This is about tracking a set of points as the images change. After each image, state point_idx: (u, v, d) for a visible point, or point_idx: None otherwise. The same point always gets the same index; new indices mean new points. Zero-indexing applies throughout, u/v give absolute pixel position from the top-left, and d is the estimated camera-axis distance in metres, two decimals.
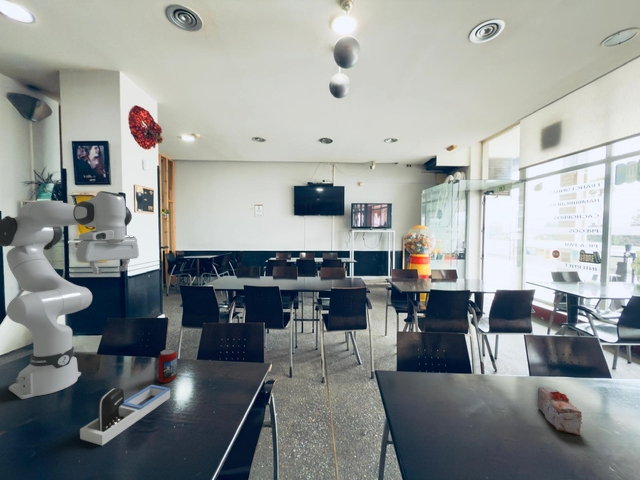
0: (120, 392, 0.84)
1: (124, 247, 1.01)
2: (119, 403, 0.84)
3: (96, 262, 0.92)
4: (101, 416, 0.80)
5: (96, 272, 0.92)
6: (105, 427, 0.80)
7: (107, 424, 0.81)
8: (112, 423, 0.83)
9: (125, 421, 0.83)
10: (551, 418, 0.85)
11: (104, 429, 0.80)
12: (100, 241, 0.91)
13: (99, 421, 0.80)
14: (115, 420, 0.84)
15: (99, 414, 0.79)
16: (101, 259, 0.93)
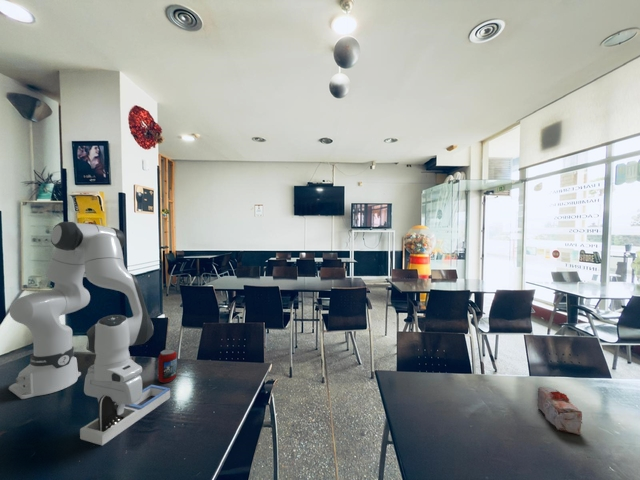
0: None
1: None
2: None
3: None
4: (101, 416, 0.80)
5: (122, 411, 0.83)
6: (105, 427, 0.80)
7: (107, 424, 0.81)
8: (112, 423, 0.83)
9: (125, 421, 0.83)
10: (551, 418, 0.85)
11: (104, 429, 0.80)
12: None
13: (99, 421, 0.80)
14: (115, 420, 0.84)
15: (99, 414, 0.79)
16: None
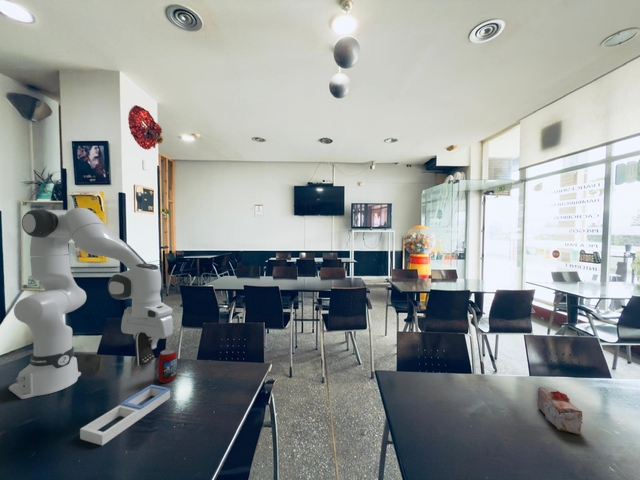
0: None
1: None
2: None
3: None
4: (138, 349, 0.91)
5: (155, 346, 0.94)
6: (142, 359, 0.92)
7: (143, 357, 0.93)
8: (147, 357, 0.94)
9: (125, 421, 0.83)
10: (552, 418, 0.85)
11: (141, 360, 0.91)
12: None
13: (136, 353, 0.91)
14: (149, 356, 0.96)
15: (136, 347, 0.91)
16: None
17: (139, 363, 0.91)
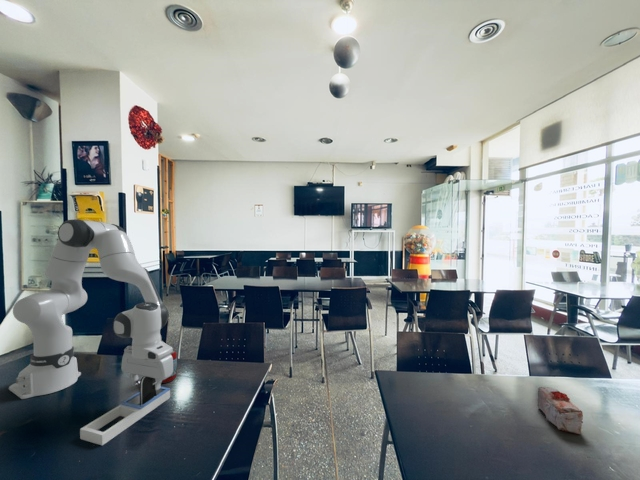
0: None
1: None
2: None
3: None
4: (142, 394, 0.91)
5: (159, 386, 0.94)
6: None
7: (147, 401, 0.93)
8: None
9: (125, 421, 0.83)
10: (552, 418, 0.85)
11: None
12: None
13: (140, 398, 0.91)
14: None
15: (140, 392, 0.91)
16: None
17: None
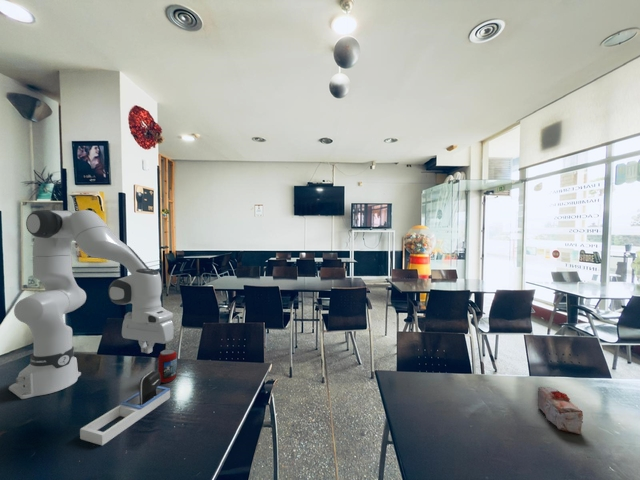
0: (157, 374, 0.96)
1: None
2: (156, 384, 0.95)
3: None
4: (142, 394, 0.91)
5: (151, 350, 0.95)
6: None
7: (146, 401, 0.92)
8: None
9: (125, 421, 0.83)
10: (552, 418, 0.85)
11: None
12: None
13: (140, 398, 0.91)
14: None
15: (140, 392, 0.91)
16: None
17: None
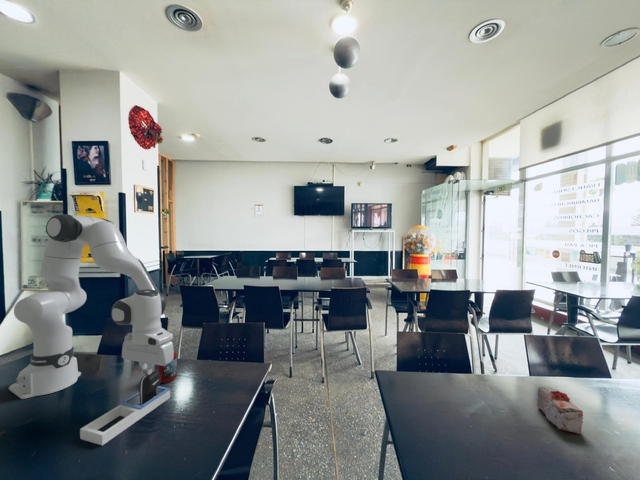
0: (157, 374, 0.96)
1: None
2: (156, 384, 0.95)
3: None
4: (142, 394, 0.91)
5: (151, 371, 0.95)
6: None
7: (146, 401, 0.92)
8: None
9: (125, 421, 0.83)
10: (553, 418, 0.85)
11: None
12: None
13: (140, 398, 0.91)
14: None
15: (140, 392, 0.91)
16: None
17: None
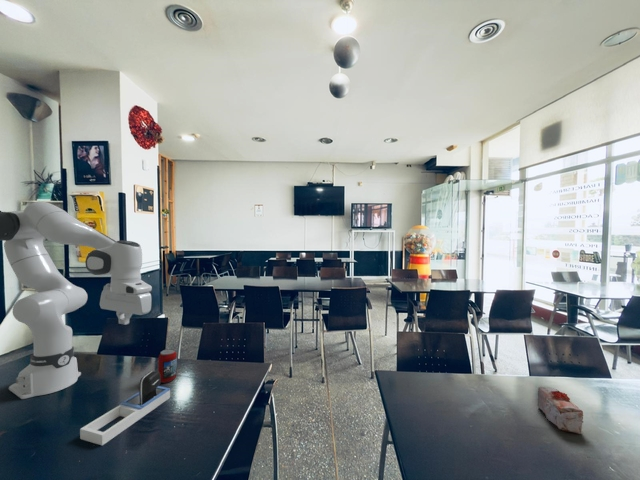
0: (157, 374, 0.96)
1: None
2: (156, 384, 0.95)
3: None
4: (142, 394, 0.91)
5: (128, 321, 0.95)
6: None
7: (146, 401, 0.92)
8: None
9: (125, 421, 0.83)
10: (553, 418, 0.85)
11: None
12: None
13: (140, 398, 0.91)
14: None
15: (140, 392, 0.91)
16: None
17: None
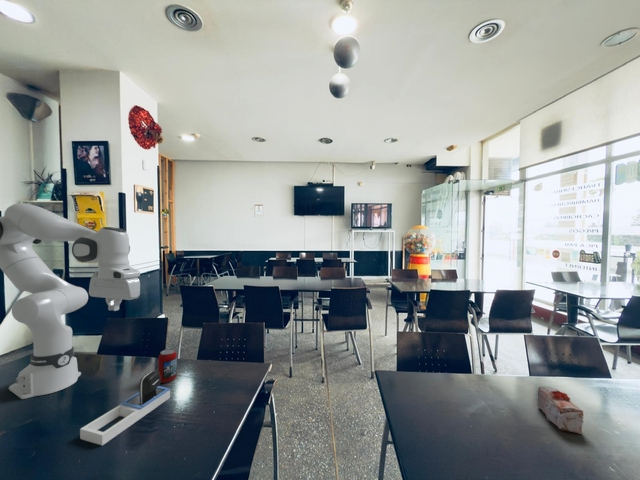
0: (157, 374, 0.96)
1: None
2: (156, 384, 0.95)
3: None
4: (142, 394, 0.91)
5: (118, 308, 0.95)
6: None
7: (146, 401, 0.92)
8: None
9: (125, 421, 0.83)
10: (553, 418, 0.85)
11: None
12: None
13: (140, 398, 0.91)
14: None
15: (140, 392, 0.91)
16: None
17: None
